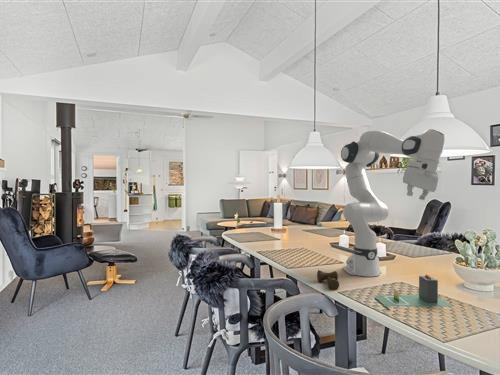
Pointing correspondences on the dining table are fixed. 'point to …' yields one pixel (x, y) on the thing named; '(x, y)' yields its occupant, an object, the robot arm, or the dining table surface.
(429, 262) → the dining table surface
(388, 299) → the board
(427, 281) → the block
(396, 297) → the header pins
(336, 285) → the kendama
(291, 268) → the dining table surface
